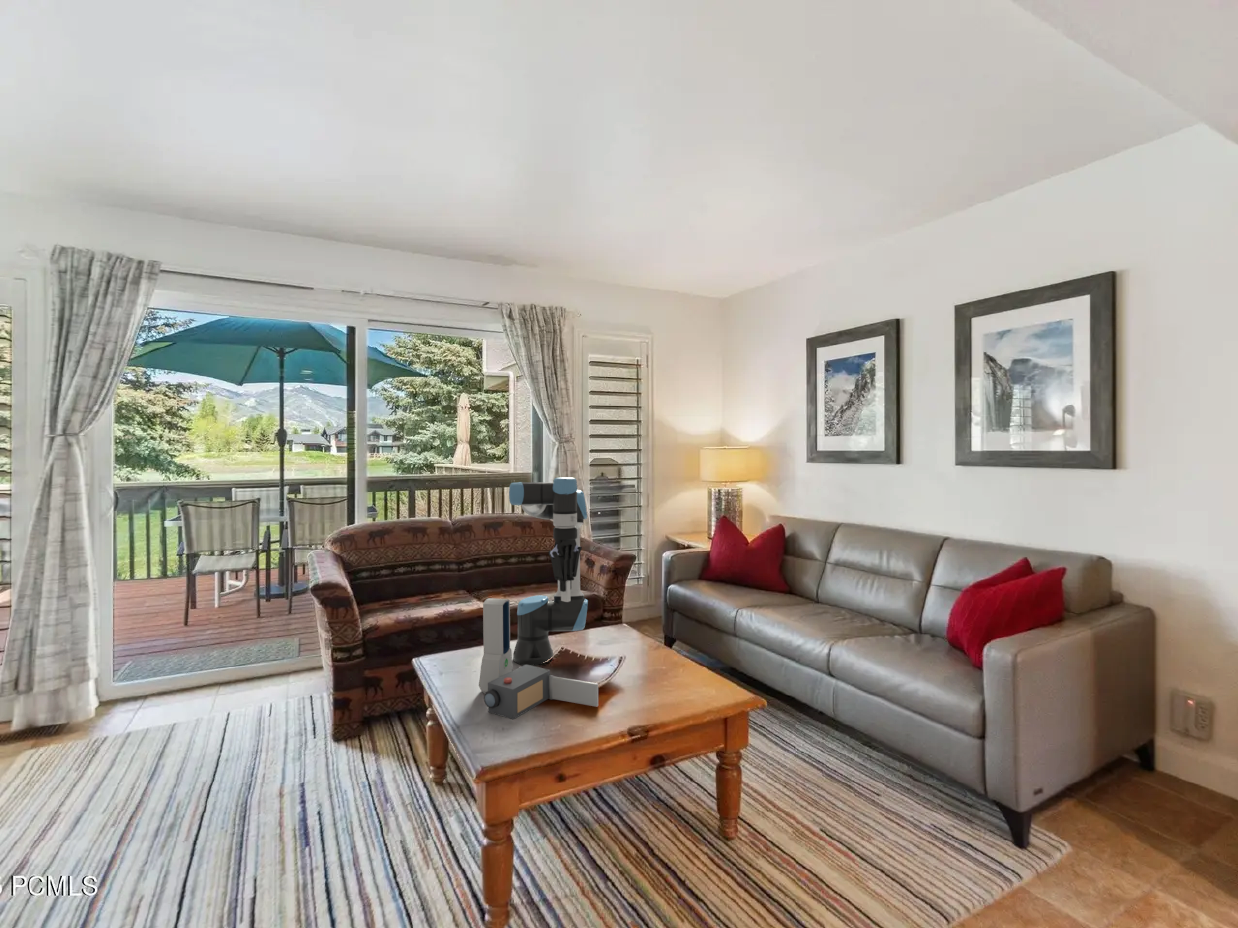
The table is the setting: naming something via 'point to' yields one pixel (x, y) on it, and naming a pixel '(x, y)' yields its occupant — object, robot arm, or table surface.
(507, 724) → the table surface
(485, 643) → the electronic device
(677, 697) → the table surface
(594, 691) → the grey thin flat plate
